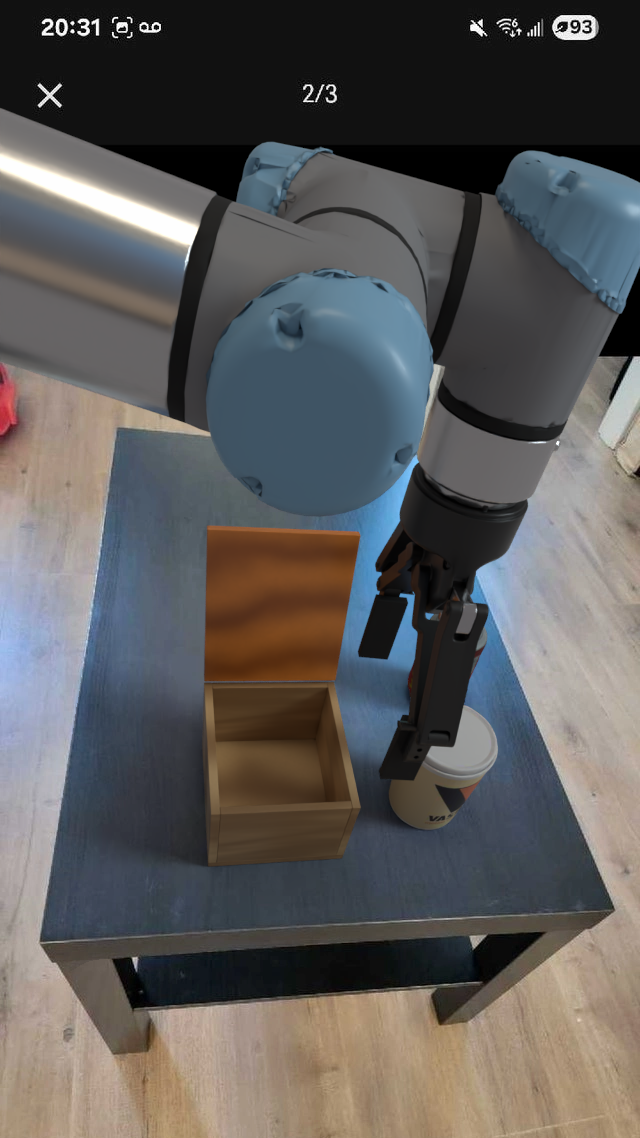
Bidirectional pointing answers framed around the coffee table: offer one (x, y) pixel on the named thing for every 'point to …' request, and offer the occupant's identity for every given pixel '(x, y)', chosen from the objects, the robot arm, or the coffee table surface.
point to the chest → (276, 773)
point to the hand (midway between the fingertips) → (383, 711)
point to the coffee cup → (446, 775)
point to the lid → (276, 602)
